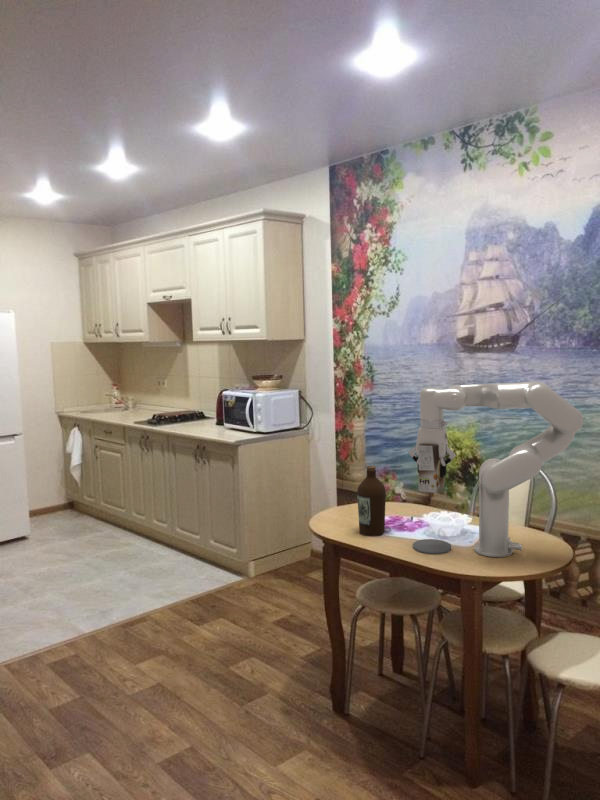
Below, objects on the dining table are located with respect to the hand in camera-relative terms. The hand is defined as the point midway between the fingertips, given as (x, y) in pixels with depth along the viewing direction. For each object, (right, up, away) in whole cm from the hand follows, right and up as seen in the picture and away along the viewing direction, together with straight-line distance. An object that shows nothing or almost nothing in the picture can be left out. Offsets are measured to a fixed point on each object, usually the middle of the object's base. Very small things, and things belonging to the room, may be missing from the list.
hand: (431, 475), depth 223 cm
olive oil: (-18, -24, +21) cm, 37 cm away
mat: (+1, -25, +3) cm, 25 cm away
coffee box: (0, -5, 0) cm, 5 cm away
